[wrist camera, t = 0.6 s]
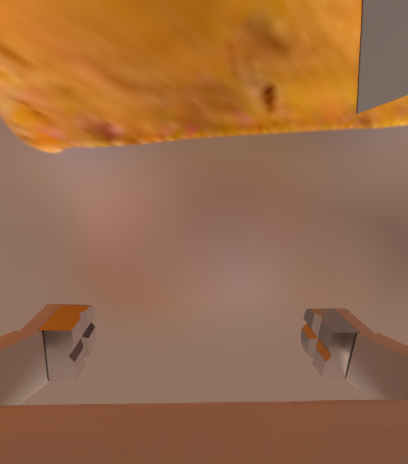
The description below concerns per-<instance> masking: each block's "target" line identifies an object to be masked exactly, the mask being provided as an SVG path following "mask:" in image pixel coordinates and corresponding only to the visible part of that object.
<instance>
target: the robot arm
mask: <svg viewBox="0 0 408 464" xmlns="http://www.w3.org/2000/svg"><path fill="white" fill-rule="evenodd" d="M94 316H95V315H94V307H93V306H92V305H73V304H47V305H46V306H45V307H44V308H43V309H42V310H41V311H40V312H39V313H38V314H37V315H36V316H35V317H34V318H33V319H32V320H30V321H29V323H27V324H26V325H25V326H24V327H23V328H22V329H21V330H20V331H13V332H11V333H8V334H6V335H3V336H1V337H0V464H408V346H407V345H404V344H402V343H400V342H397V341H395V340H393V339H391V338H388V337H386V336H383V335H381V334H379V333H374V332H373V331H372V330H370V329H369V328H368V327H367V326H366V325H365V324H364V323H362V322H361V321H360V320H359V319H358V318H356V317H355V316H354V315H353V314H352V313H351V312H350V311H348V310H347V309H344V308H337V309H307V310H306V311H305V314H304V320H305V322H306V325H305V326H304V327H303V328H302V330H301V342H302V346H303V348H304V350H305V352H306V354H308V355H309V356H311V357H312V358H314V359H313V364H314V366H315V367H316V369H317V370H318V372H319V373H320V375H321V376H322V378H346V380H347V381H348V382H350V383H351V384H352V385H354V386H355V387H356V388H358V389H359V390H360V391H361V392H363V393H364V394H365V395H367V396H368V397H369V398H370V399H372V400H323V401H267V402H266V401H263V402H262V401H261V402H204V403H203V402H199V403H137V404H136V403H135V404H134V403H131V404H70V405H69V404H68V405H20V404H21V403H23V402H24V401H25V400H26V399H28V398H29V397H30V396H31V395H33V394H34V393H35V392H36V391H38V390H39V389H40V388H41V387H43V386H44V385H45V384H46V383H48V381H58V380H76V379H77V377H78V375H79V373H80V371H81V369H82V367H83V366H84V357H86V356H87V355H89V354H90V352H91V350H92V348H93V345H94V341H95V334H96V331H95V326H94V325H93V323H92V322H91V321H92V320H93V318H94Z"/></svg>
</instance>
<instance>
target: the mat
mask: <svg viewBox="0 0 408 464" xmlns="http://www.w3.org/2000/svg"><path fill="white" fill-rule="evenodd" d="M406 95H408V0H362V18H361V38H360V57H359V76H358V95H357V114H358V113H360V112H363V111H366V110H368V109H371V108H374V107H376V106H379V105H382V104H385V103H387V102H390V101H393V100H395V99H398V98H401V97H403V96H406Z"/></svg>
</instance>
